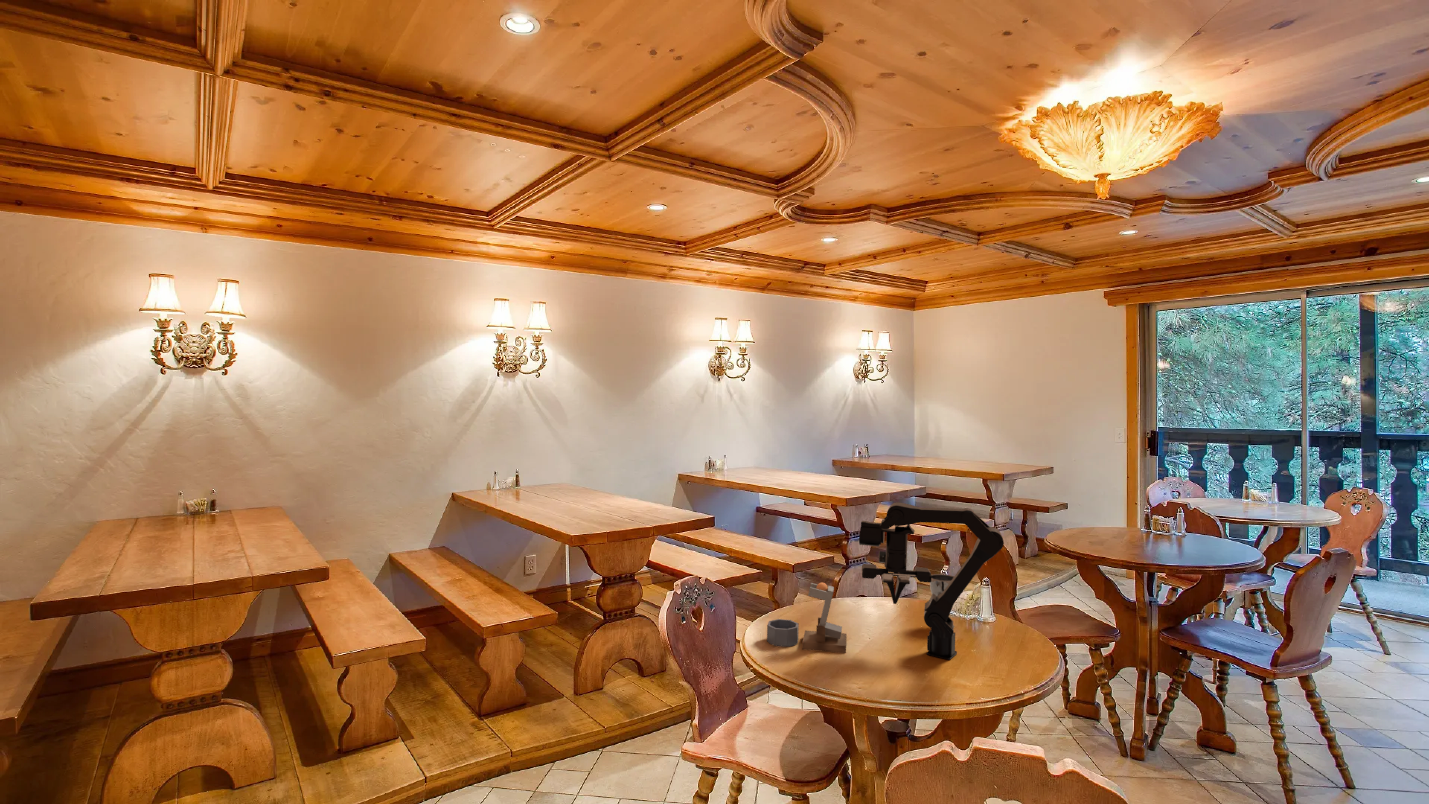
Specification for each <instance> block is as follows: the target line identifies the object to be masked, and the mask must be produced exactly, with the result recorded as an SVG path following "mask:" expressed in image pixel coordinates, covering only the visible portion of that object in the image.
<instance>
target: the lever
mask: <svg viewBox="0 0 1429 804" xmlns="http://www.w3.org/2000/svg"><path fill="white" fill-rule="evenodd" d="M817 585H818V583H813V582H810V585H809V589H808V594H807V596H808V597H811V598H814V599H819V600H822V601H824V602H823V603H824V604H823V608H822V612H821V616H820V618H821V620H820V623H819V626H825V635H827V636H831V637H834V638H838V639H840V637H841V633H843V632H842V629H843V626H841V625H837V624H834V623H831V622H828V618H829V617H828V616H829V612H830V609H831V608H830V607H831V604H832V601H833V596H834V589H835V587H834V586H832V585H827V587H828V590H827V592H826V591H823V590H819V589H816V588H817Z"/></svg>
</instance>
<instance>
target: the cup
mask: <svg viewBox="0 0 1429 804" xmlns="http://www.w3.org/2000/svg"><path fill="white" fill-rule="evenodd" d="M799 625H800V624H799V623H798V622H796V621H794V620H792V619H784V618H783V619H782V618H777V619H772V620H768V622H767V625H766V627H767V628H766V641H767V642H768V644H770V645H772V646H775V647H779V648H787V647H790V648H791V647H794V646H796V645H797V644H799V627H800V626H799Z"/></svg>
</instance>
